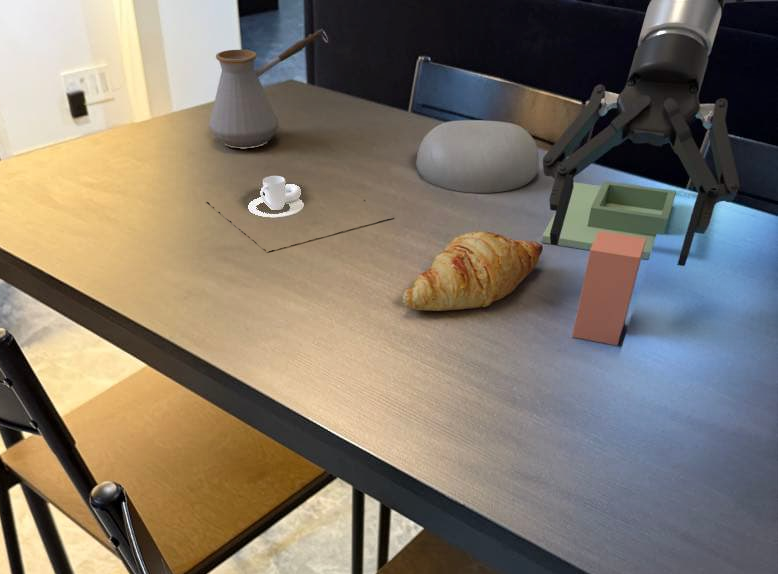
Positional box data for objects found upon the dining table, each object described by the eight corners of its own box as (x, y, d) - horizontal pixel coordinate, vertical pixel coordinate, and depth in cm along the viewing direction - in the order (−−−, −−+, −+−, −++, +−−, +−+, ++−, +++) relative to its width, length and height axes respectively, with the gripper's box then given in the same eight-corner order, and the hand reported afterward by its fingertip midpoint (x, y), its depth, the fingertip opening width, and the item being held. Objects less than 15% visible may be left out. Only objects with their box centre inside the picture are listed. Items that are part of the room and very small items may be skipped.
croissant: (419, 352, 89) (443, 310, 81) (372, 285, 90) (391, 238, 83) (547, 295, 97) (578, 252, 90) (502, 235, 99) (530, 188, 92)
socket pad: (709, 208, 109) (717, 182, 107) (697, 267, 96) (705, 240, 94) (570, 188, 114) (575, 164, 112) (541, 242, 101) (545, 216, 99)
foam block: (624, 324, 87) (646, 237, 79) (617, 345, 83) (640, 257, 76) (580, 316, 88) (598, 230, 81) (572, 337, 85) (590, 249, 77)
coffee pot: (223, 158, 124) (209, 51, 113) (203, 136, 131) (188, 34, 120) (343, 139, 130) (340, 36, 119) (318, 119, 137) (313, 20, 127)
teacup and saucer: (292, 193, 113) (290, 164, 110) (318, 211, 109) (317, 181, 106) (239, 205, 110) (235, 176, 107) (264, 225, 105) (260, 195, 102)
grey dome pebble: (414, 138, 109) (421, 103, 120) (412, 191, 114) (419, 152, 125) (547, 143, 107) (542, 106, 119) (539, 196, 113) (535, 156, 124)
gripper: (789, 87, 81) (732, 283, 82) (556, 63, 87) (506, 244, 88) (810, 40, 73) (747, 256, 74) (554, 18, 80) (499, 216, 81)
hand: (616, 250), depth 81 cm, fingers open, 13 cm apart
